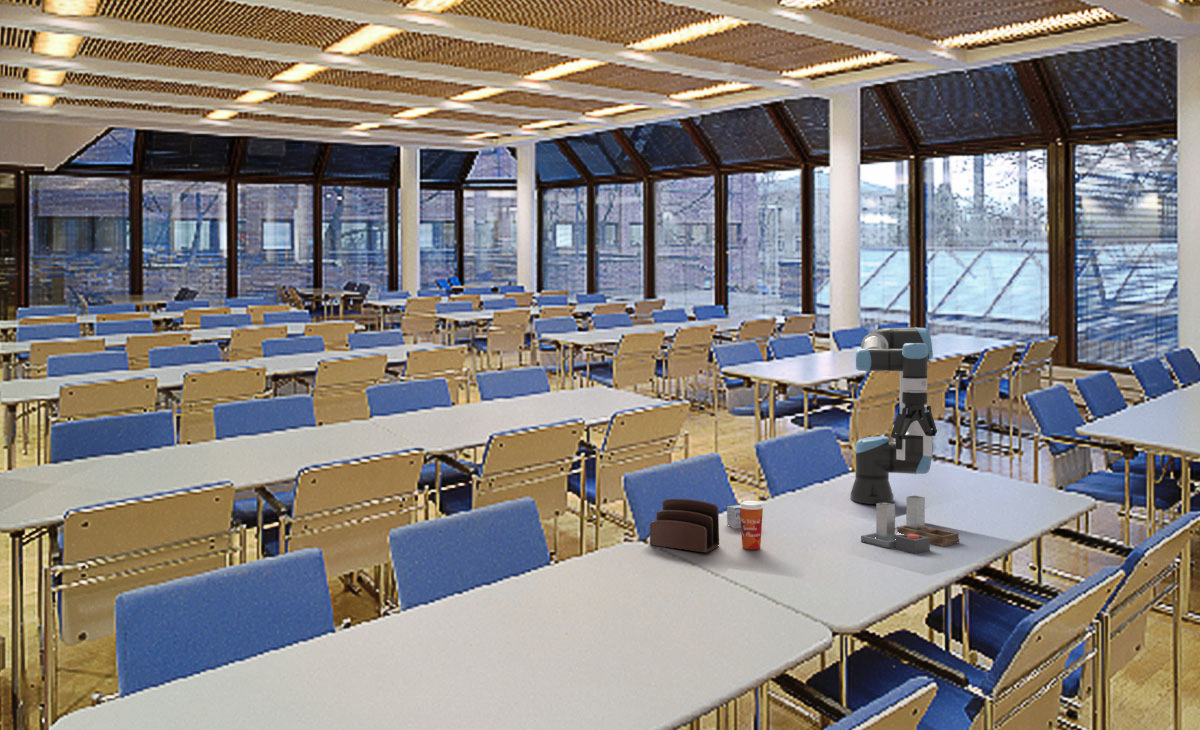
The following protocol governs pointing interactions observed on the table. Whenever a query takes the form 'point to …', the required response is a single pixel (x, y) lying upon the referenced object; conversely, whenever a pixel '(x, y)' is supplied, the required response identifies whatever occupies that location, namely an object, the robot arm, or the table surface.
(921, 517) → the billet
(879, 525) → the block
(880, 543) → the tray
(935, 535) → the wooden tray
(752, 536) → the paper cup
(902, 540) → the button housing
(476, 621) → the table surface
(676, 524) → the letter holder
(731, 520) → the medicine box
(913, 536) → the button
